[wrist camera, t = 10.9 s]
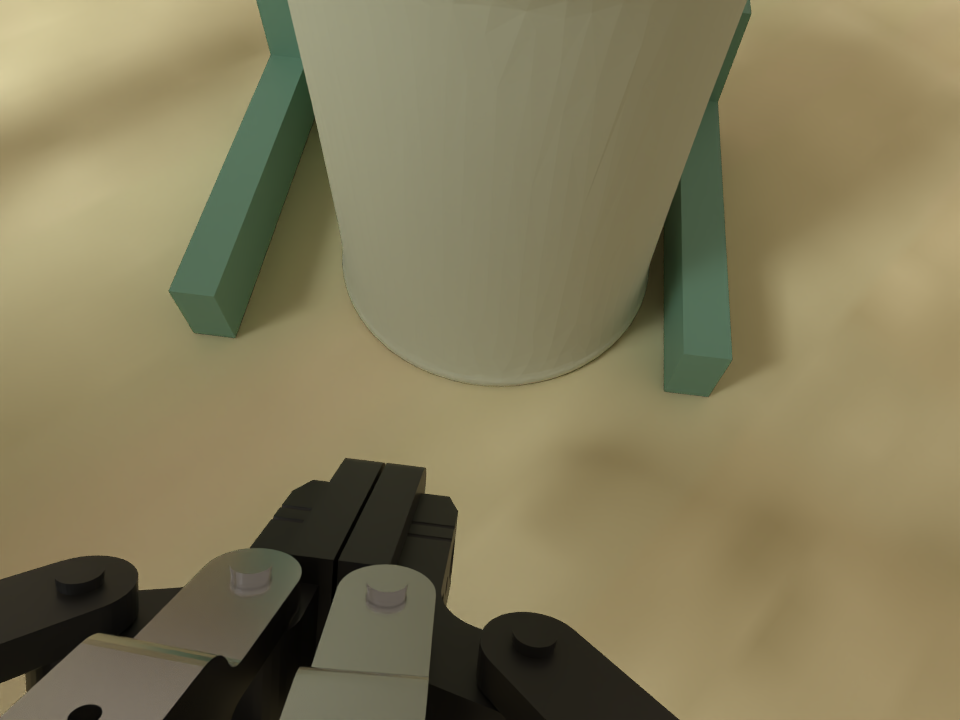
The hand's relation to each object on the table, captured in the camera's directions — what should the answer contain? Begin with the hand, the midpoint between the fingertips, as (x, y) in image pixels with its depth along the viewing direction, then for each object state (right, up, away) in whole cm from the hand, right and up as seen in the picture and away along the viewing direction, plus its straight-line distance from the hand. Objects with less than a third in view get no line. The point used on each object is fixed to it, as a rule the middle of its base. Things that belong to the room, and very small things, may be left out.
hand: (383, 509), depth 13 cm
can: (+2, +6, +9) cm, 11 cm away
